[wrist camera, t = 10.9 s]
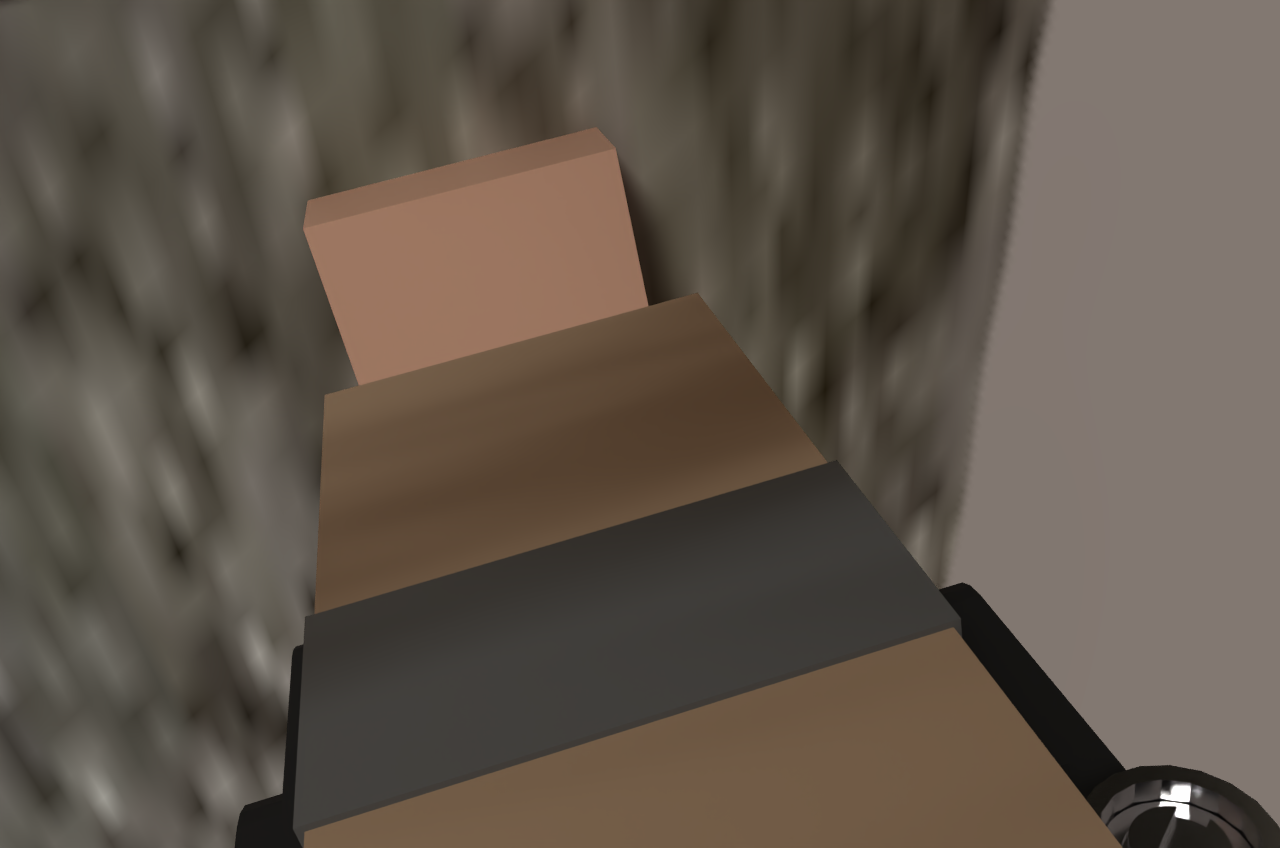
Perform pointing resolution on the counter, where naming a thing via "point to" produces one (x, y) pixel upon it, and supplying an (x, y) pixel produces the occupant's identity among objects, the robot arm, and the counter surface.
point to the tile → (477, 254)
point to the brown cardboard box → (635, 622)
